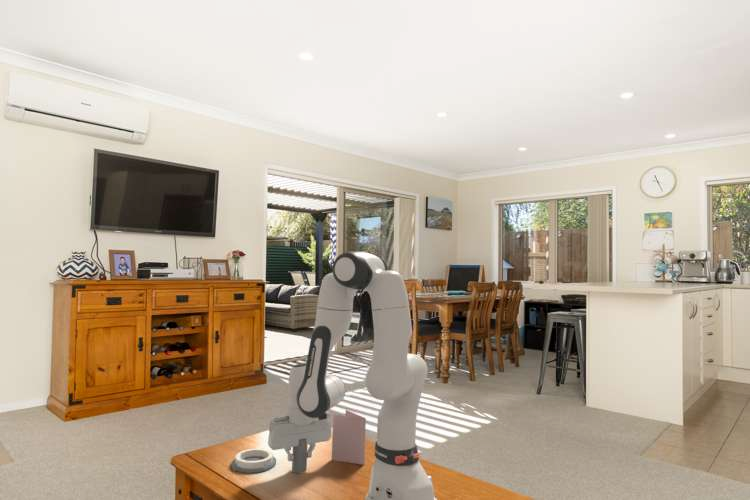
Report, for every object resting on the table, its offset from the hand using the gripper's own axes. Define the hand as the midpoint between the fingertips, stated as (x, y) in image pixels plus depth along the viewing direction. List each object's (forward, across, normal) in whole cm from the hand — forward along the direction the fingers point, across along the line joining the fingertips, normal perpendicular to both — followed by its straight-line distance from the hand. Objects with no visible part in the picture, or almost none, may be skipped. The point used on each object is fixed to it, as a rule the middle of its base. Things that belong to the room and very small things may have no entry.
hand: (299, 458), depth 151 cm
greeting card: (+4, +17, 0) cm, 17 cm away
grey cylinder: (+4, 0, 0) cm, 4 cm away
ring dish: (+4, -11, +11) cm, 16 cm away
